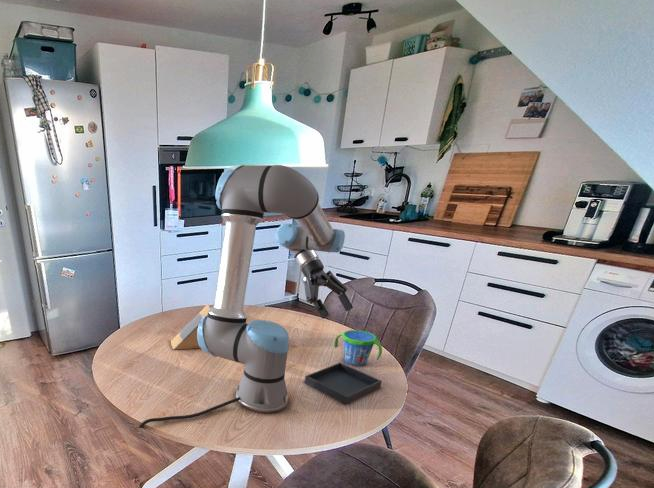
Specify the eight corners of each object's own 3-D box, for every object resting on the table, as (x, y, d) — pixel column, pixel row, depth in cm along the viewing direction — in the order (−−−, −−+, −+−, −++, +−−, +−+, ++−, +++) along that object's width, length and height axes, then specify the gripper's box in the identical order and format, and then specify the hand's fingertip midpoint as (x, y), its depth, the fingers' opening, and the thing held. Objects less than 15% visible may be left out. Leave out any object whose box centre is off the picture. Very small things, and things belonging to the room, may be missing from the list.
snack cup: (326, 358, 140) (330, 332, 136) (341, 350, 146) (346, 325, 142) (368, 374, 129) (375, 346, 125) (383, 364, 135) (389, 338, 131)
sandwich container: (170, 341, 156) (169, 305, 150) (207, 338, 158) (208, 303, 152) (172, 349, 148) (172, 312, 142) (212, 347, 150) (213, 310, 144)
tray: (345, 404, 113) (347, 397, 112) (304, 382, 124) (305, 375, 123) (380, 387, 121) (382, 380, 120) (338, 368, 133) (339, 362, 132)
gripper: (324, 265, 154) (351, 311, 148) (280, 274, 141) (307, 324, 136) (338, 254, 147) (367, 301, 142) (293, 262, 135) (322, 314, 130)
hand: (338, 313), depth 139 cm, fingers open, 13 cm apart
